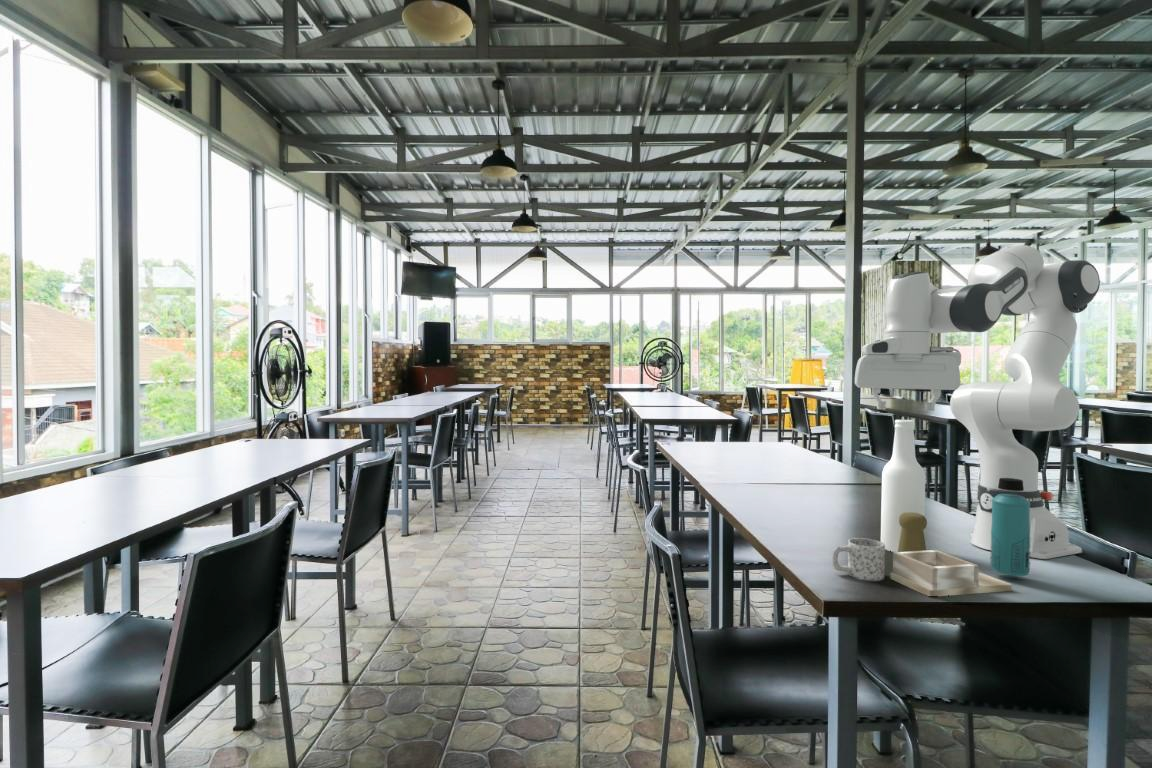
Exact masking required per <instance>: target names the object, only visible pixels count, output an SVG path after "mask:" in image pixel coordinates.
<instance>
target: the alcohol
mask: <svg viewBox="0 0 1152 768" xmlns="http://www.w3.org/2000/svg"><path fill="white" fill-rule="evenodd" d="M894 424H895V425H894V428H895V429H894V436H893V445H892V453H891V454H892V455H891V458H890V460H889V461H888V462H886V464H885V465H884V466H883V469H882V473H881V497H880V498H881V504H880V505H881V506H880V507H881V508H880V542H882V543H884V544H885V551H888V552H890V551H891V553H893V552H898V547H899V541H900V535H901V529H902V527H901V526H900V524H899V517H900V515H901V514H902V513H906V512H913V513H918V514H921V515H923V516H926V515H925V513H926V512H925V511H926V510H925V506H926V505H925V504H926V474H925V470H924V468H923V466H921V464H920V463H919V462H918V461H917V457H916V445H915V433H914V431H915V430H914V429H915V425H914V424H915V421H914V420H913V419H912V420H911V419H895V420H894Z"/></svg>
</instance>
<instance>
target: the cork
mask: <svg viewBox="0 0 1152 768" xmlns="http://www.w3.org/2000/svg"><path fill="white" fill-rule="evenodd" d="M899 524H900V526H901V527H902V529H901V535H900V541H899V547H898V552H909V551H926V550H927V545H926V539H925V529H926V528H927V525H928V521H927V518H926V515H924V516H923V515H921V514H918V513H913V512H906V513H902V514H901V515H900V517H899Z"/></svg>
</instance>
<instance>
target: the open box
mask: <svg viewBox="0 0 1152 768" xmlns="http://www.w3.org/2000/svg"><path fill="white" fill-rule="evenodd" d="M979 565H980V564H976V563H973V562H971V561H967V560H965V559H962V558H960V557H956V556H955V555H951V554H949V553H946V552H943V551H940V550H938V549H930V550H928V549H926V551H909V552H892V571H891V572H890V577H889V578H890V580H893V581H894V582H897V583H899V584H901V585H903V586H905V587H908V588H910V589H912V590H914V591H916V592H918V593H921V594H922V595H924V596H926V595H927V597H928V596H938V597H947V596H948V595H949V596H960V595H962V596H963V595H976V594H986V593H998V592H1000V593H1001V592H1012V590H1013V588H1012V587H1013V584H1011V583H1009V582H1006V581H1004V580H1001V579H998V578H996V577H993V576H992V575H991V576H990V575H988V574H985V573H983V572H980V566H979ZM949 596H948V597H949Z"/></svg>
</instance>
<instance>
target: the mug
mask: <svg viewBox="0 0 1152 768" xmlns="http://www.w3.org/2000/svg"><path fill="white" fill-rule="evenodd" d="M847 543H848V544H846V545H845V544H844V545H840V546H837V547H834V549H833V551H832V552H833V553H832V566H833V569H834V570H836V571H839V572H845V573H847V575H849V576H850V577H852V578H854V579H858V580H861V581H867V582H879V581H883V580H884V579H885V560H886V559H885V558H886V556H885V554H886V553H885V552H886V550H885V544H884V543H882V542H881V540H880V541H879V540H876V539H871V538H863V537H853V538H850V539H848V540H847ZM841 552H845V553H847V565H840V563H839V561H838V559H839V553H841Z"/></svg>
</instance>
